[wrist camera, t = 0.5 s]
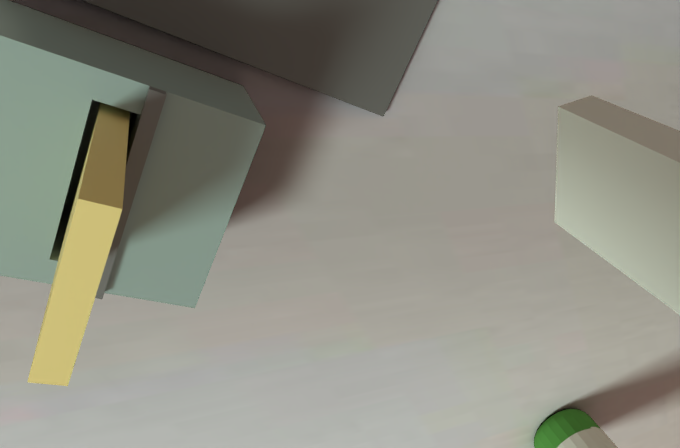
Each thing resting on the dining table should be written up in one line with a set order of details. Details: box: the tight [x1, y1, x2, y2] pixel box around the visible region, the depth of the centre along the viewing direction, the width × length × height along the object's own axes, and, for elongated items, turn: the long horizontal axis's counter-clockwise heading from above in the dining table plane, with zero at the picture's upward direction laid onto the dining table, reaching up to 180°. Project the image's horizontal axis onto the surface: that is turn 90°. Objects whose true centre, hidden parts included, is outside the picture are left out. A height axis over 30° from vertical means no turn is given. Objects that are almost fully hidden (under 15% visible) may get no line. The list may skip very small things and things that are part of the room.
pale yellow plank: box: [28, 102, 130, 386], centre depth 26 cm, size 1×8×16 cm, turn 155°
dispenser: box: [0, 0, 266, 308], centre depth 30 cm, size 14×12×9 cm
